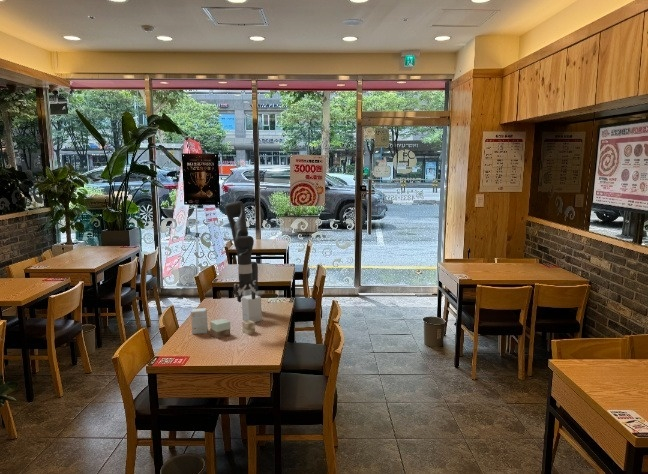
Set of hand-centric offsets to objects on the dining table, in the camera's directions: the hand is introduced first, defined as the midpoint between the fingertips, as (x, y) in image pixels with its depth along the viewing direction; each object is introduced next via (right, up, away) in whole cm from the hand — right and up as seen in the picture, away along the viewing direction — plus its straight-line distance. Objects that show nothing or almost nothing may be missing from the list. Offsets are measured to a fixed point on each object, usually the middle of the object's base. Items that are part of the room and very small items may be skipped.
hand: (246, 300), depth 253 cm
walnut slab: (-14, -19, -1) cm, 24 cm away
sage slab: (-14, -15, -2) cm, 21 cm away
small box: (-27, -19, +5) cm, 33 cm away
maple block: (+1, -18, +2) cm, 19 cm away
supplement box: (-1, -16, +24) cm, 29 cm away
